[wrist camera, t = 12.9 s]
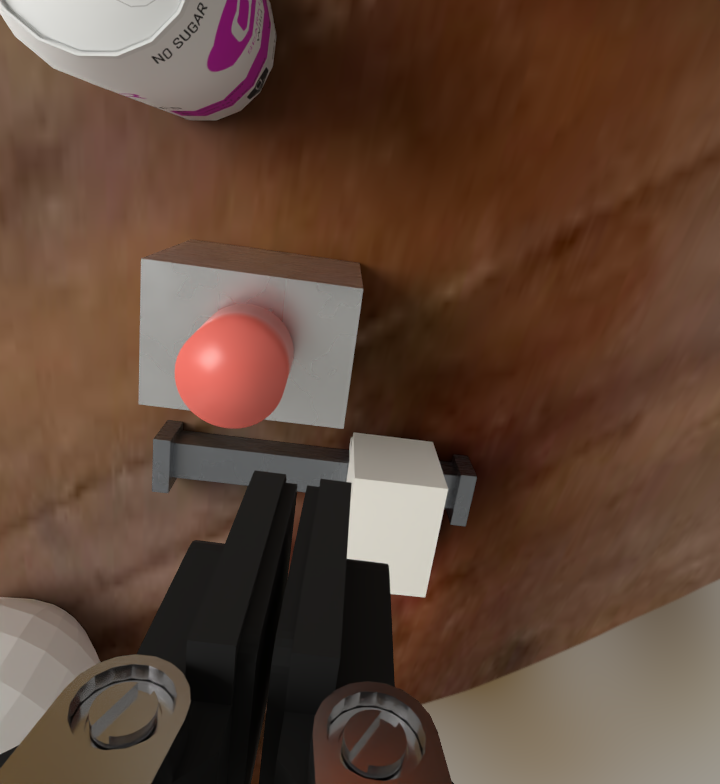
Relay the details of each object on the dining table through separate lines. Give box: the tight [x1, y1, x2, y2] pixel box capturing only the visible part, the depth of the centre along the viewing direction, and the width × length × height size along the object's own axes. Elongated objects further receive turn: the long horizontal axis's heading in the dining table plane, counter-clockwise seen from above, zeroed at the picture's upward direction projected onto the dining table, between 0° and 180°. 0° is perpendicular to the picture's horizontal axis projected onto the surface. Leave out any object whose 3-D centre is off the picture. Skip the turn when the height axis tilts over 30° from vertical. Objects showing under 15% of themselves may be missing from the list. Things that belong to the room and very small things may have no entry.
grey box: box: [139, 240, 363, 429], centre depth 32 cm, size 10×7×9 cm
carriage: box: [346, 433, 448, 597], centre depth 36 cm, size 5×7×8 cm
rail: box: [152, 420, 477, 526], centre depth 39 cm, size 20×4×3 cm, turn 82°
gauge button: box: [175, 304, 294, 429], centre depth 28 cm, size 4×4×8 cm
